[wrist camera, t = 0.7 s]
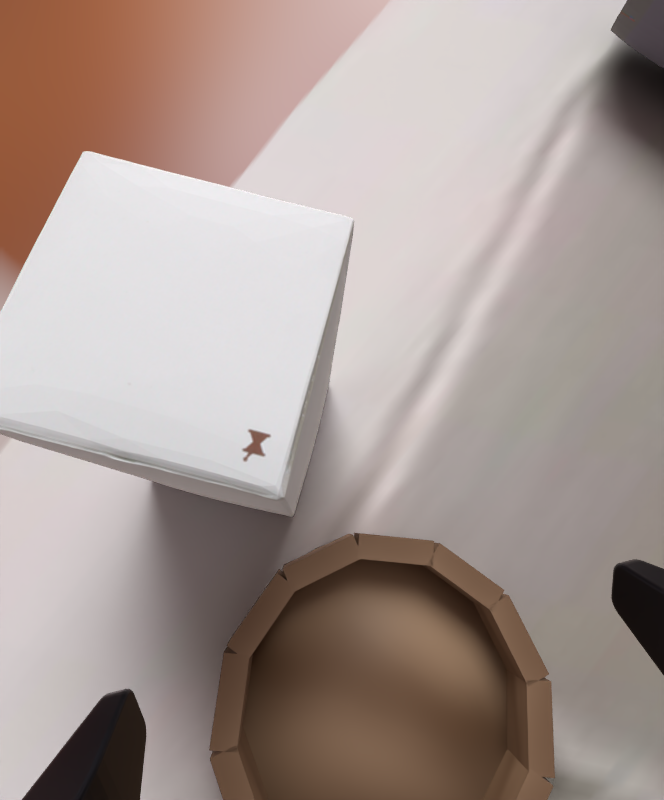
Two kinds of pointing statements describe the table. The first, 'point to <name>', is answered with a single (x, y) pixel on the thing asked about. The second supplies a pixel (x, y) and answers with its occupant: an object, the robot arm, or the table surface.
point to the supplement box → (176, 332)
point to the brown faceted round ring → (382, 683)
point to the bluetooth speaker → (643, 28)
